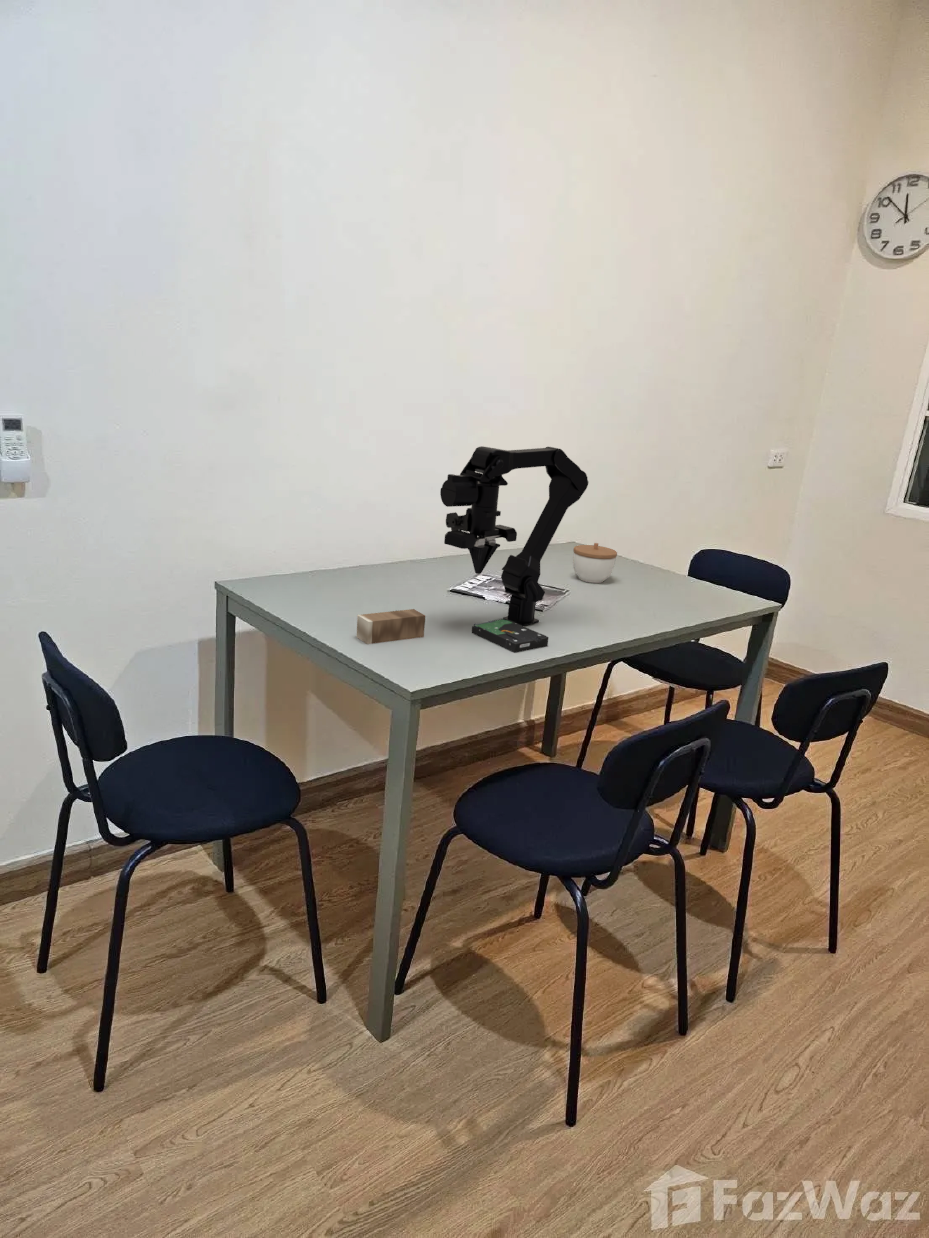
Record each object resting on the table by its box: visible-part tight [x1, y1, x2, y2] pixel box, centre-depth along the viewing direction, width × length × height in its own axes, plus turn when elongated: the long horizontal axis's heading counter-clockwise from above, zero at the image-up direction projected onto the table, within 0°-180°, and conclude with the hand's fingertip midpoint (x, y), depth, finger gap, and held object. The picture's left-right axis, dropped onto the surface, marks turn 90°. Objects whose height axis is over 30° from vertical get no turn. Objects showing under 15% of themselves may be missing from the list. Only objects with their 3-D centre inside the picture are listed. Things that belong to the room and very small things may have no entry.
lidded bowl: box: [572, 542, 618, 584], centre depth 249 cm, size 13×13×11 cm
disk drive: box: [471, 618, 549, 654], centre depth 191 cm, size 10×3×15 cm
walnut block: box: [355, 608, 426, 645], centre depth 185 cm, size 5×5×14 cm
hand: (478, 573), depth 193 cm, fingers closed
